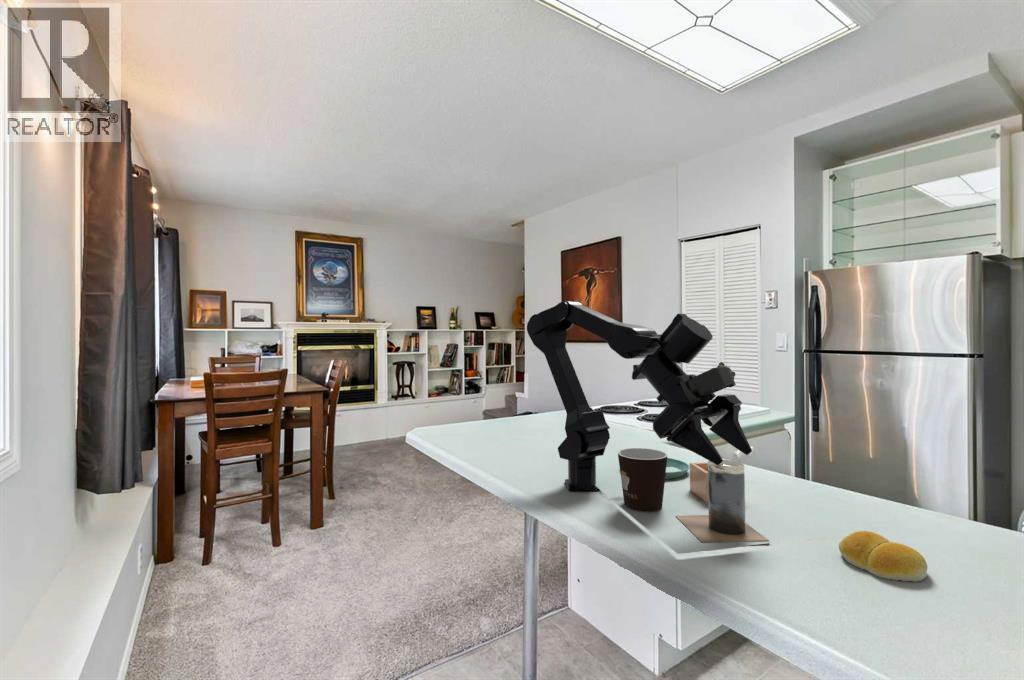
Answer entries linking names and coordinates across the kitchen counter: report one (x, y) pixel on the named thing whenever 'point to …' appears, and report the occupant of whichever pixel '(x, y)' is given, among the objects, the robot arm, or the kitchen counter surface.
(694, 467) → the planter
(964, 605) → the kitchen counter surface
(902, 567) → the bread roll
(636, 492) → the brown coffee cup
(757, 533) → the coaster
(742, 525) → the tea tin
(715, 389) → the robot arm
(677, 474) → the saucer
